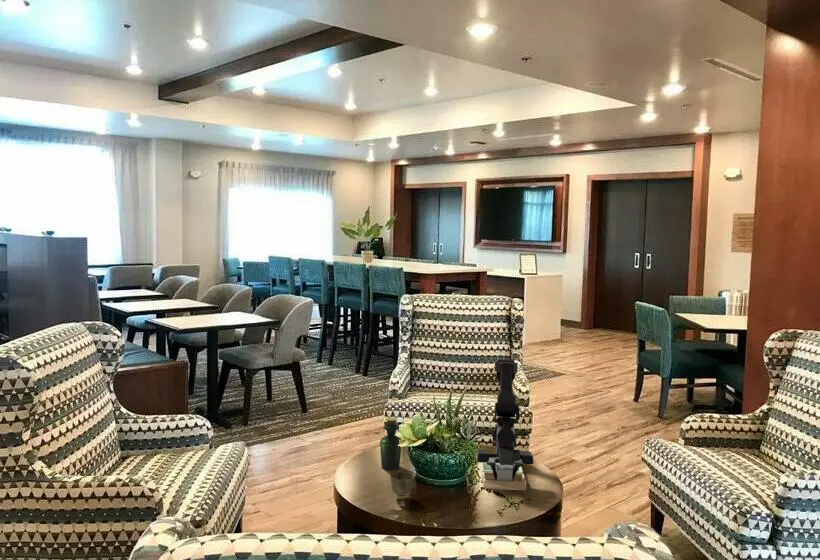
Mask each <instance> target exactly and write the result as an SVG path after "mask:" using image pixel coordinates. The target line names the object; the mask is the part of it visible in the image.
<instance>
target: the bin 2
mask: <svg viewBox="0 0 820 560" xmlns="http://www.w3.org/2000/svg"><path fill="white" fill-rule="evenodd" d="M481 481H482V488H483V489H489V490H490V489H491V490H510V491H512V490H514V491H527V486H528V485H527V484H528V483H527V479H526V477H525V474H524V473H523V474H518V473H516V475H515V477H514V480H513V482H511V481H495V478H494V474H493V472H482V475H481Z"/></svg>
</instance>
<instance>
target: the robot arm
mask: <svg viewBox="0 0 820 560" xmlns="http://www.w3.org/2000/svg"><path fill="white" fill-rule="evenodd" d="M518 363H519V362H515V359H509V358H508V359H504V358H498V360H497V361H495V362H494V373H496V378H497V380H498V382H499V393H498V395H497V397H496V398H497V399H496V402H494V423H495V424H494V430H492V442H491V443H492V447H495V452H489V449H477V450H476V462H477V463H487V465H490V466H491V468H492V471H493V474H494V478H495V481H497V474H496V463H499V464H500V465H512V470H513V471H512V482H513V480H514V477H515V475H516V472H517V470H518V469H519V467H521V468H522V467H523V466H524V465H534V456H533V453H532V452H531V451H527V450H526V451H525V450H520V449H515V448H516V447H517V437H518V436H517V435H516V432H515V425H516V424H519V421H520V406H519V404H518V403H516V401H517V400H516V396H515V395H514V393H513V381H514V380H515V378H516V374H517V373H518V367H519V365H518Z"/></svg>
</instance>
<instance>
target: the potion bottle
mask: <svg viewBox="0 0 820 560" xmlns="http://www.w3.org/2000/svg"><path fill="white" fill-rule="evenodd" d="M397 419H398V418H396V417H386V423H385V424H384V425H383V430H385V432H386V435H385V436H384V437H382V438H381V439H380V440H379V447H380V450H379V451H380V463H381V464H380V465H381V468H382V469H384V470H385V471H386V470H387V471H396V470H398V469H399V468H400V462H401V453H402V446H401V447H400V446H398V444H399V438H400V437H398V435H396V434H397V433H396V432H397V431H398V430H399V429H400V426H399V424H398V423H397Z"/></svg>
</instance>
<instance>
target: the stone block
mask: <svg viewBox="0 0 820 560" xmlns="http://www.w3.org/2000/svg"><path fill="white" fill-rule="evenodd" d="M512 471H513V470H512V467H511V465H500V464H496V474H497V481H511V482H512Z"/></svg>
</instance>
